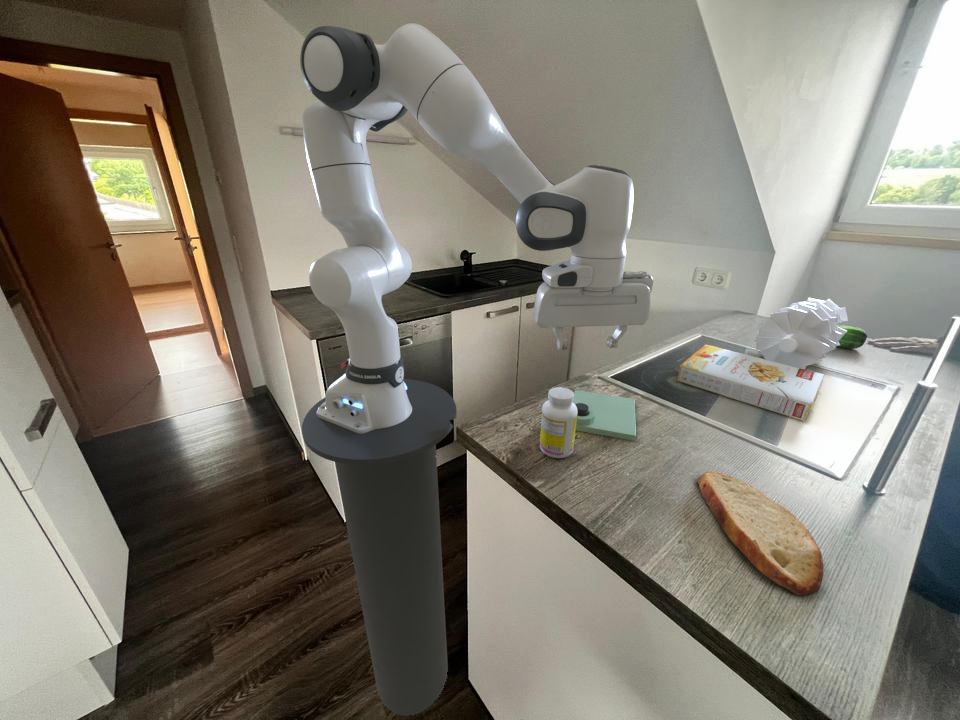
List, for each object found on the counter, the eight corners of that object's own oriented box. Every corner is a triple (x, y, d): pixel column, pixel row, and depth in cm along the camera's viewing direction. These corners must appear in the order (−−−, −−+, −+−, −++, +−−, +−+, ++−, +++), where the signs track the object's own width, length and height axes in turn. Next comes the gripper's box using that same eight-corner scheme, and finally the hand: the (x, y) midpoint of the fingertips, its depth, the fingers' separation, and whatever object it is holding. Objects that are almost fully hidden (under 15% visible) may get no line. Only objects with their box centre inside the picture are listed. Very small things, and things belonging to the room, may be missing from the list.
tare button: (573, 415, 84) (573, 408, 83) (574, 408, 86) (575, 402, 86) (587, 418, 83) (588, 411, 82) (588, 411, 85) (589, 404, 85)
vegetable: (871, 327, 120) (792, 314, 133) (862, 349, 120) (784, 333, 134) (869, 332, 125) (793, 319, 139) (860, 353, 126) (785, 338, 139)
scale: (564, 428, 84) (565, 416, 83) (572, 394, 98) (574, 383, 97) (634, 441, 80) (637, 429, 78) (633, 404, 94) (635, 393, 92)
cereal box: (704, 342, 115) (826, 371, 97) (700, 359, 117) (818, 391, 99) (679, 364, 102) (815, 402, 84) (675, 383, 104) (806, 423, 86)
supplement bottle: (560, 436, 81) (566, 382, 76) (579, 454, 76) (587, 397, 70) (533, 443, 79) (536, 388, 74) (550, 463, 73) (556, 404, 68)
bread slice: (702, 472, 71) (707, 455, 69) (829, 526, 60) (838, 508, 58) (666, 528, 59) (671, 510, 58) (815, 610, 48) (826, 590, 46)
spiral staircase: (757, 377, 116) (785, 353, 130) (834, 373, 101) (856, 346, 115) (742, 319, 114) (772, 300, 128) (818, 306, 99) (843, 287, 113)
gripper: (646, 267, 69) (633, 339, 75) (533, 269, 68) (529, 343, 73) (664, 274, 63) (649, 352, 69) (541, 277, 62) (536, 356, 68)
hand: (586, 347), depth 71 cm, fingers open, 8 cm apart
